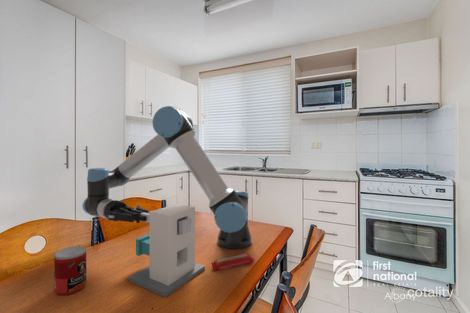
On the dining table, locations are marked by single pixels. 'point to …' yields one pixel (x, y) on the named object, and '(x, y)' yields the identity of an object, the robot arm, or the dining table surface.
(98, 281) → the dining table surface
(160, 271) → the switch block
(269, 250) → the dining table surface
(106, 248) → the dining table surface
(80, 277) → the canned food
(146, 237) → the teal plunger
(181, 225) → the steel plunger
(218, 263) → the candy bar
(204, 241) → the dining table surface
